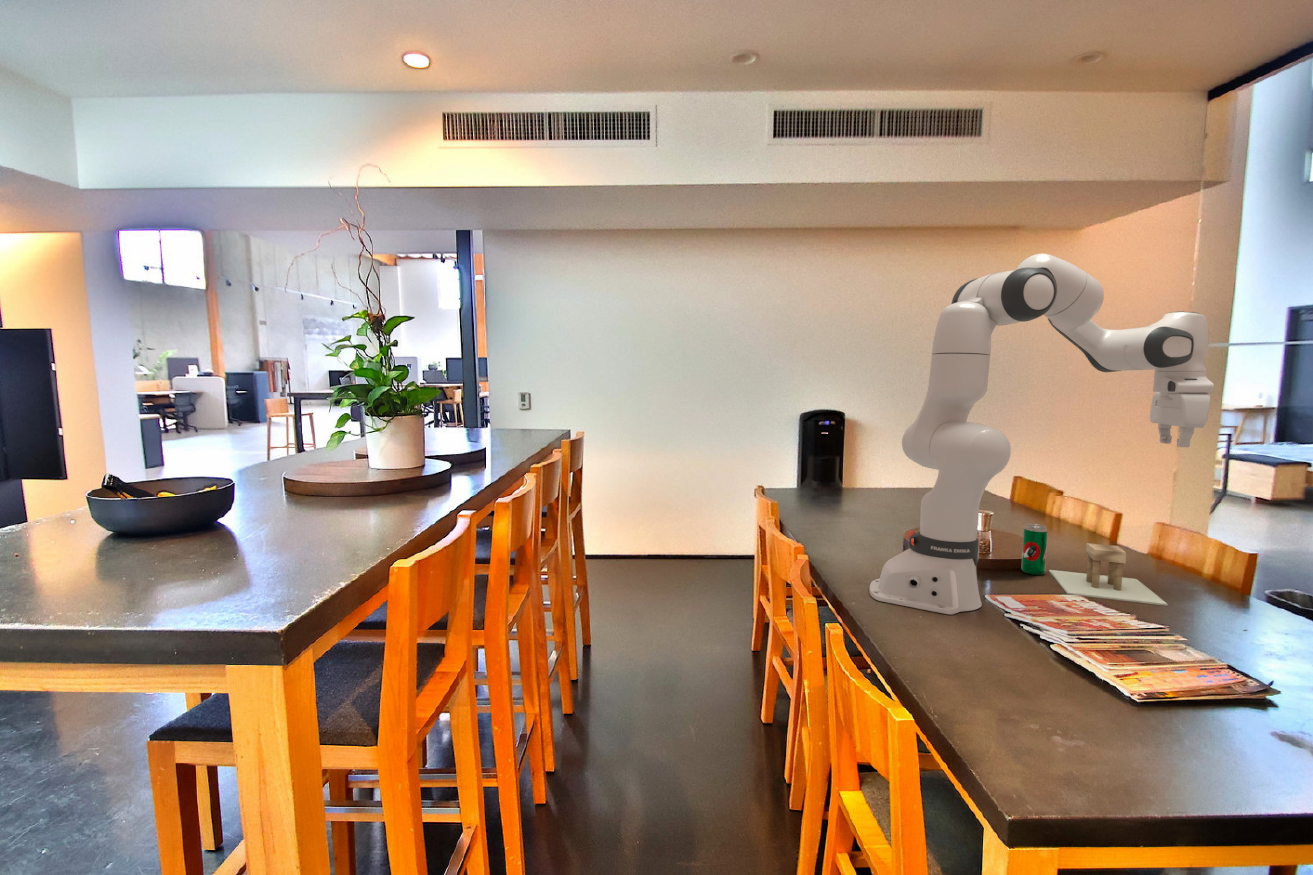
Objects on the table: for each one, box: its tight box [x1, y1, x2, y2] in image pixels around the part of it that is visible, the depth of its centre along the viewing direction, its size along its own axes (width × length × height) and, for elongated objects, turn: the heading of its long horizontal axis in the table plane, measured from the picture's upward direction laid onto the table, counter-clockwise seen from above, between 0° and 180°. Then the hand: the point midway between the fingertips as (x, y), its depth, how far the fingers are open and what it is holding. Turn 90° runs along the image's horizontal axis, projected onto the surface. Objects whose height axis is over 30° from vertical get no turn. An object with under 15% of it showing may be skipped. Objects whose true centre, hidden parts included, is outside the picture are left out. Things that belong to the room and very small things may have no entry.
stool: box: [1085, 542, 1127, 591], centre depth 138 cm, size 6×6×9 cm
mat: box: [1048, 569, 1169, 607], centre depth 138 cm, size 18×18×1 cm
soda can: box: [1020, 523, 1049, 576], centre depth 148 cm, size 5×5×12 cm
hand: (1173, 445), depth 136 cm, fingers open, 8 cm apart
